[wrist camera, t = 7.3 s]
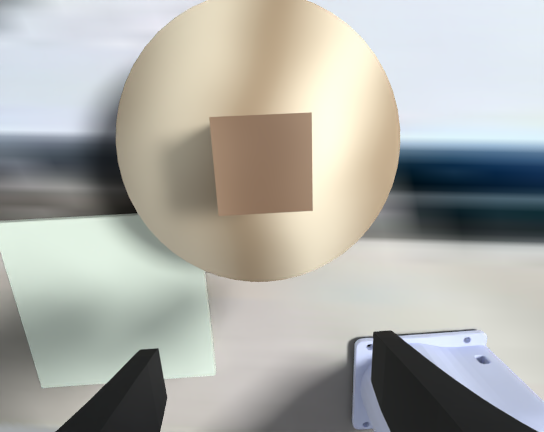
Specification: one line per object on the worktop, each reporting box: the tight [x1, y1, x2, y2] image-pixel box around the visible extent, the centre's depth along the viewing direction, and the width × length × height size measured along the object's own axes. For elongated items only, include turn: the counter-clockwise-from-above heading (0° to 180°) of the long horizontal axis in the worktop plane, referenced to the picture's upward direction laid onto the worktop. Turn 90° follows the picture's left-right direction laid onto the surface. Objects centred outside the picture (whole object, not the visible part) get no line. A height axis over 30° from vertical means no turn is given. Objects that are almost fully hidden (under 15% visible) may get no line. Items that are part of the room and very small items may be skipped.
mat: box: [0, 213, 216, 388], centre depth 21 cm, size 12×12×1 cm
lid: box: [116, 0, 400, 282], centre depth 12 cm, size 12×12×5 cm
